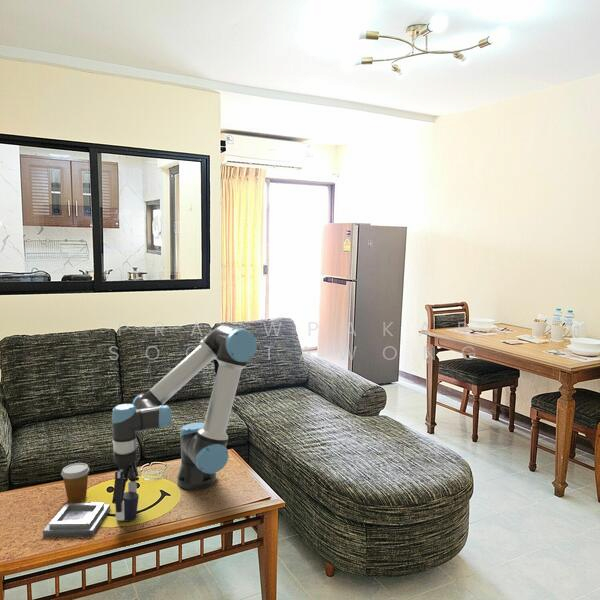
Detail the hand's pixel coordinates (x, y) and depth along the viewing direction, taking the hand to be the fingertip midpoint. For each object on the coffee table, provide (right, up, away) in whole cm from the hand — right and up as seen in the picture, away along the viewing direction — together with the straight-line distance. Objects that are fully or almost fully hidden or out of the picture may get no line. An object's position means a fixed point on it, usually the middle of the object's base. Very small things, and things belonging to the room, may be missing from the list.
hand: (126, 509), depth 177 cm
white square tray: (-16, -3, -3) cm, 16 cm away
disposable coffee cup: (-23, -2, +13) cm, 26 cm away
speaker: (0, -3, +1) cm, 3 cm away
